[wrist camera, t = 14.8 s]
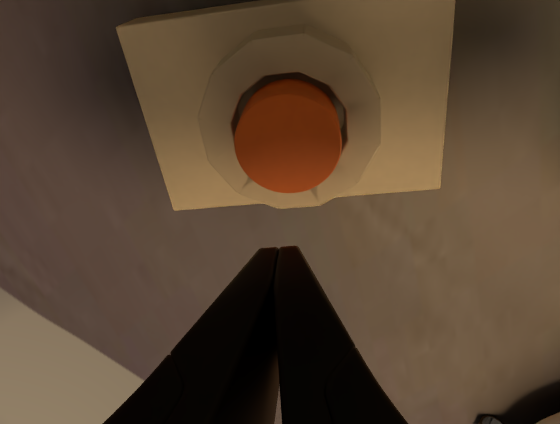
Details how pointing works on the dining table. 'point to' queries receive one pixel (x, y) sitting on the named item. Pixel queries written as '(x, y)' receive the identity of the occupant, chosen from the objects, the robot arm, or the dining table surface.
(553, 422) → the coffee press
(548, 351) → the dining table surface
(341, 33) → the panel
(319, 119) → the button
